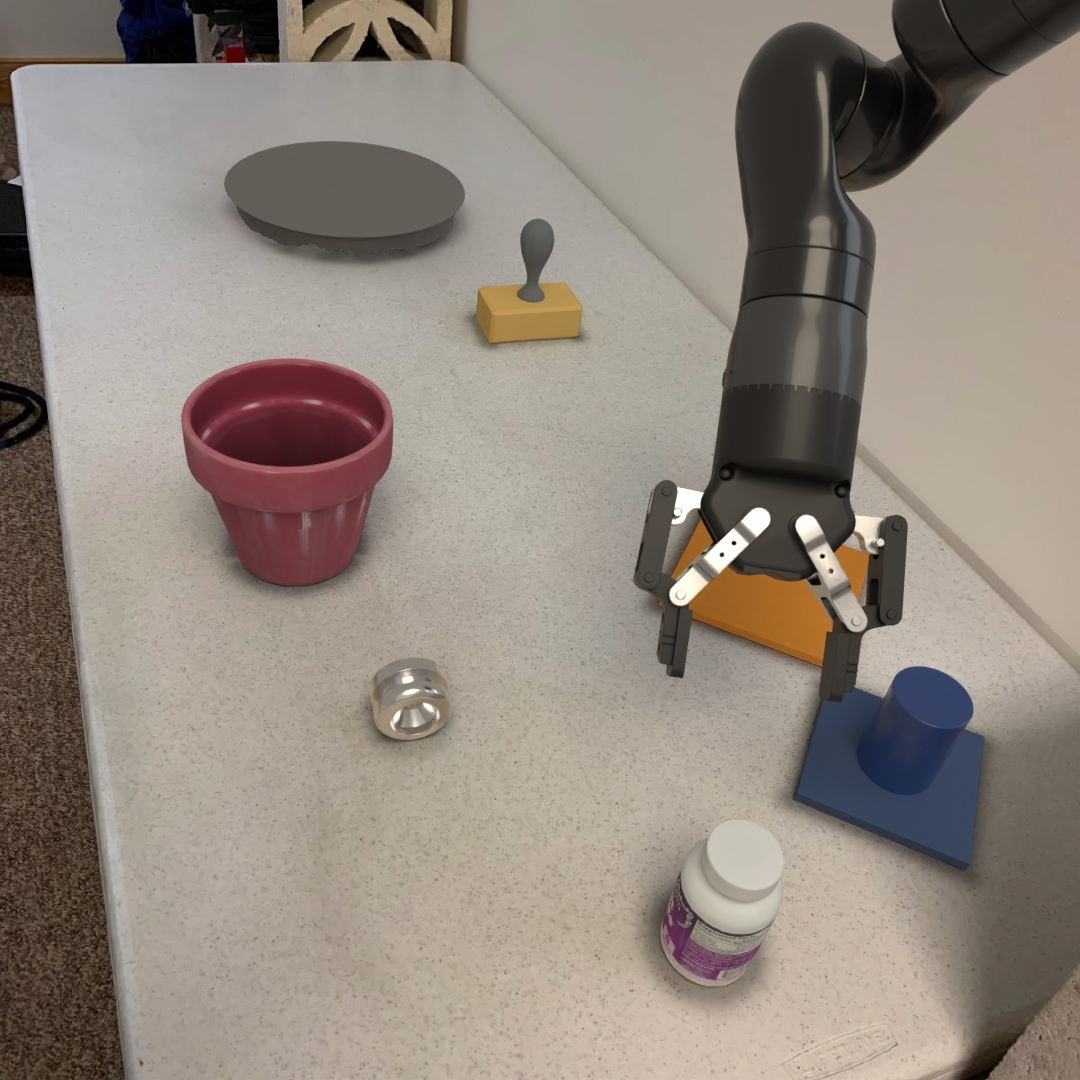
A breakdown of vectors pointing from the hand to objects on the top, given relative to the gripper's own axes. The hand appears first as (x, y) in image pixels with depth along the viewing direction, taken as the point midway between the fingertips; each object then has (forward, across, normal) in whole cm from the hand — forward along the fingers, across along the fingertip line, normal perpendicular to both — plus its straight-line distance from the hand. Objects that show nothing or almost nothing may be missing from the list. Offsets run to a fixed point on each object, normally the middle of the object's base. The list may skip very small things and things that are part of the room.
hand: (752, 688), depth 54 cm
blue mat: (+5, +13, +13) cm, 19 cm away
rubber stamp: (-32, -18, +50) cm, 62 cm away
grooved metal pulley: (+6, -19, +12) cm, 24 cm away
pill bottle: (+15, 0, +4) cm, 15 cm away
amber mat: (-7, +6, +25) cm, 27 cm away
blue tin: (+4, +13, +13) cm, 19 cm away
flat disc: (-46, -42, +64) cm, 89 cm away
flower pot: (-4, -31, +23) cm, 39 cm away
